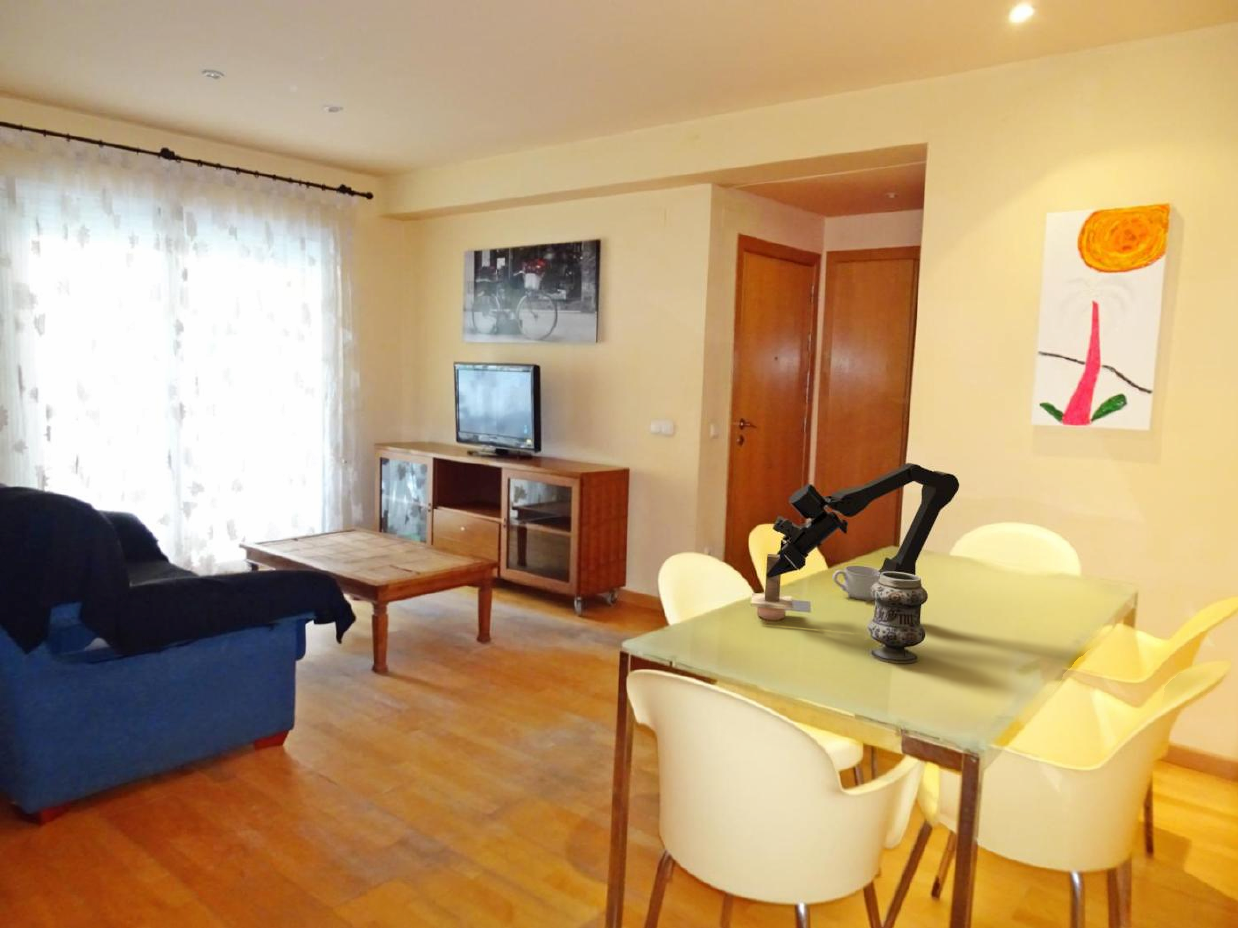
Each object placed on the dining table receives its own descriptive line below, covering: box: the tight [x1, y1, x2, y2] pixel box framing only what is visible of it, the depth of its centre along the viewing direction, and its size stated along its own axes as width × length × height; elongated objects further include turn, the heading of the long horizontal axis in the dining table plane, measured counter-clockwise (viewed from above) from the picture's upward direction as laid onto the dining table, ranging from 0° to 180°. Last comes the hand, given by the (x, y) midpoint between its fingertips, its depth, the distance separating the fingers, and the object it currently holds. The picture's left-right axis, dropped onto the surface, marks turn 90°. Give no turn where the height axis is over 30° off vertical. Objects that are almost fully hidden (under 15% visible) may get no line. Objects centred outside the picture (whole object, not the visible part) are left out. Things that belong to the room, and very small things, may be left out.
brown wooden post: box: [749, 553, 794, 611], centre depth 215 cm, size 10×10×12 cm
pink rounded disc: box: [756, 607, 787, 621], centre depth 216 cm, size 7×7×4 cm
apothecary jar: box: [866, 572, 929, 665], centre depth 189 cm, size 12×12×18 cm
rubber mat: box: [786, 599, 811, 613], centre depth 228 cm, size 11×11×1 cm
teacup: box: [832, 564, 881, 602], centre depth 240 cm, size 14×11×8 cm
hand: (767, 572), depth 215 cm, fingers open, 9 cm apart
